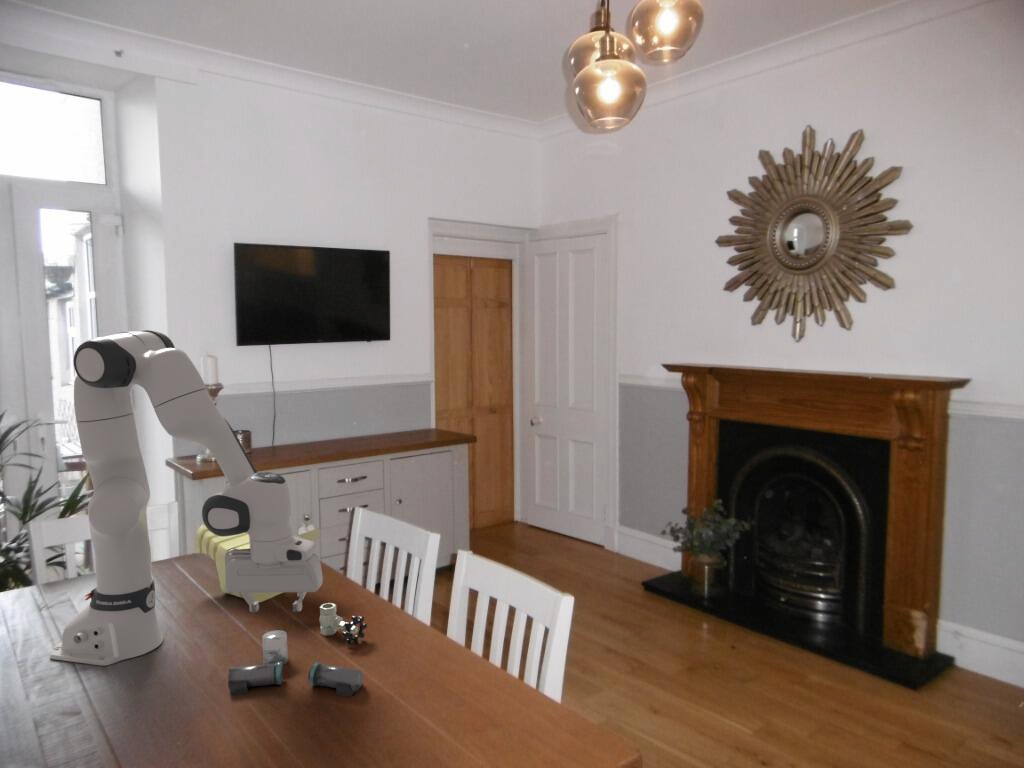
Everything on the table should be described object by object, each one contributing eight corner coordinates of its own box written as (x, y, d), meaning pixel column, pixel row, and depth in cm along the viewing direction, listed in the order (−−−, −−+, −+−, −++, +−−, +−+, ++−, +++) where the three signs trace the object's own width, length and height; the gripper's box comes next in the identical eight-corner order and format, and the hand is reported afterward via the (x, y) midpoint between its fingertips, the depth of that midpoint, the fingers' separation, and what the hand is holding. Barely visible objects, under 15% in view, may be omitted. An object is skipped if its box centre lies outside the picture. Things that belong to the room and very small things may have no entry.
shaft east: (364, 685, 147) (364, 664, 146) (352, 697, 142) (351, 676, 142) (321, 677, 150) (320, 657, 149) (307, 689, 145) (307, 668, 144)
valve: (311, 635, 170) (345, 649, 162) (310, 608, 169) (344, 621, 162) (334, 625, 175) (367, 639, 168) (333, 599, 174) (366, 612, 167)
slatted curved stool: (197, 590, 197) (194, 526, 195) (245, 572, 210) (242, 512, 209) (273, 613, 182) (271, 544, 180) (320, 592, 195) (318, 528, 193)
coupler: (259, 667, 154) (258, 640, 154) (268, 656, 159) (267, 630, 158) (282, 667, 154) (281, 640, 153) (290, 656, 159) (289, 630, 158)
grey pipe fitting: (228, 695, 143) (227, 674, 142) (232, 682, 148) (231, 662, 147) (281, 689, 145) (280, 668, 145) (283, 677, 150) (282, 656, 149)
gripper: (217, 554, 151) (222, 617, 153) (314, 552, 150) (317, 616, 152) (230, 544, 157) (234, 604, 159) (323, 542, 156) (326, 604, 158)
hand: (276, 610), depth 155 cm, fingers open, 8 cm apart
